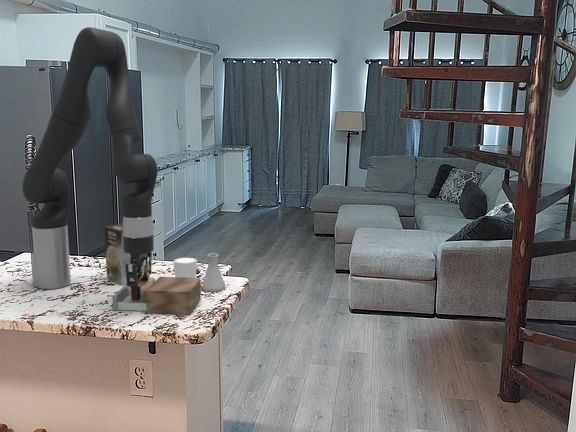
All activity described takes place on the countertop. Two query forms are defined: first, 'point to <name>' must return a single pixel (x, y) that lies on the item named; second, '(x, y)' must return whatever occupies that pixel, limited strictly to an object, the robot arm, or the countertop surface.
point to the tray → (127, 301)
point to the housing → (173, 296)
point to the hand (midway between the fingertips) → (140, 296)
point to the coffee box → (116, 254)
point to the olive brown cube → (151, 279)
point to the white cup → (185, 267)
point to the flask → (213, 275)
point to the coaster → (141, 287)
